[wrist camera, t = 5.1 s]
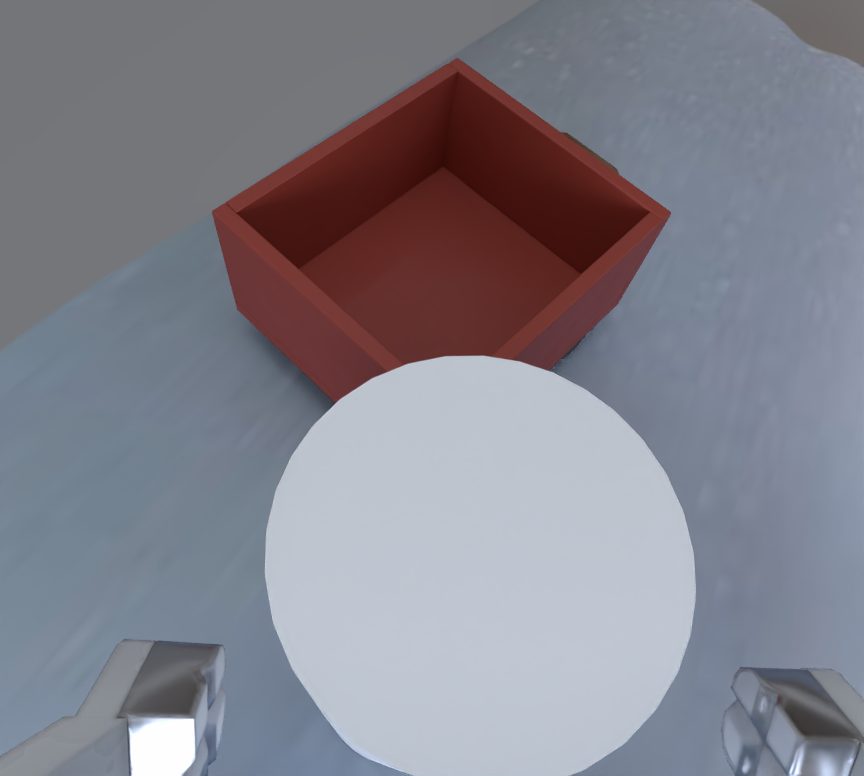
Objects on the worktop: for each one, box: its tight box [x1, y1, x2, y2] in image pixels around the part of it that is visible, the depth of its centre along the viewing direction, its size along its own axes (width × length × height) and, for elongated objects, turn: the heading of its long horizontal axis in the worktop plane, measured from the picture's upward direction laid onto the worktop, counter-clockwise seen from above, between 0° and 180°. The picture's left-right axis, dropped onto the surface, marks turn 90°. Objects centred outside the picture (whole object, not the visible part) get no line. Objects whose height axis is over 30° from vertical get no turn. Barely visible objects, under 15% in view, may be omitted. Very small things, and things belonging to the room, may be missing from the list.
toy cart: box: [212, 58, 671, 403], centre depth 39 cm, size 22×15×11 cm, turn 136°
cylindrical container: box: [265, 356, 696, 776], centre depth 23 cm, size 7×7×25 cm
